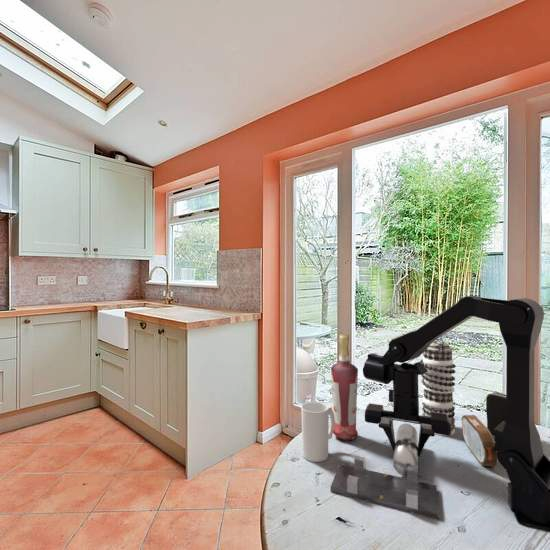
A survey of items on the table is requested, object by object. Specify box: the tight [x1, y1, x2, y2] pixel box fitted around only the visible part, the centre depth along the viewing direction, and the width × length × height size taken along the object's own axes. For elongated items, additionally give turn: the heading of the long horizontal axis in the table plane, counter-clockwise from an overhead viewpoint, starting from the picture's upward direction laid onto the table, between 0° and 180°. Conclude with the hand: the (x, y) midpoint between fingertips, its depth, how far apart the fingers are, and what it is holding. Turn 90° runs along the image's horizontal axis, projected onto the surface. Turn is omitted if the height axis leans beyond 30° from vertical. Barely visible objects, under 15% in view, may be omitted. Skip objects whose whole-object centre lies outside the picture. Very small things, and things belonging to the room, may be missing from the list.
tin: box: [461, 414, 498, 468], centre depth 81 cm, size 15×3×8 cm, turn 168°
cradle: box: [330, 455, 440, 520], centre depth 67 cm, size 20×10×4 cm, turn 66°
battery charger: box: [485, 392, 506, 436], centre depth 90 cm, size 7×4×11 cm, turn 34°
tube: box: [392, 423, 419, 478], centre depth 79 cm, size 16×5×5 cm, turn 156°
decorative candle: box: [419, 340, 456, 437], centre depth 95 cm, size 9×9×25 cm
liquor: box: [330, 334, 359, 441], centre depth 91 cm, size 7×7×28 cm
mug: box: [300, 401, 335, 463], centre depth 82 cm, size 10×7×12 cm, turn 125°
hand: (406, 453), depth 79 cm, fingers closed on tube, 5 cm apart
